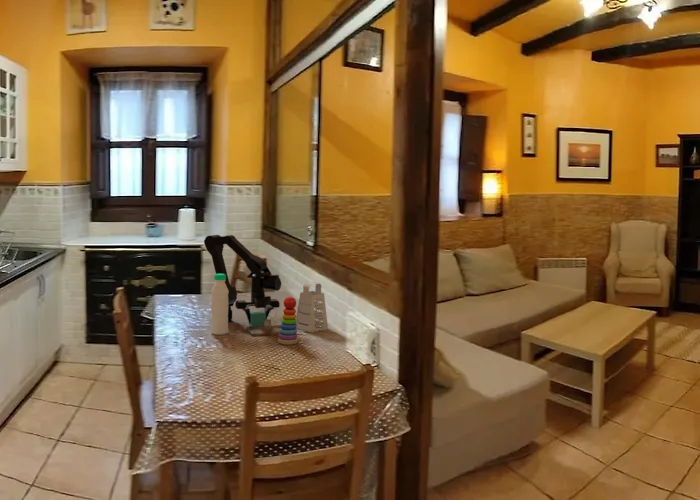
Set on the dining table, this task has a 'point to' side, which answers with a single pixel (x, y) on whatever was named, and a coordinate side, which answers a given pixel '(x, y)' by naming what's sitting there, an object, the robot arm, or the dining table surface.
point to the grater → (311, 309)
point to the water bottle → (219, 306)
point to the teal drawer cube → (257, 318)
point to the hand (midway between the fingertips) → (257, 323)
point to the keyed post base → (262, 332)
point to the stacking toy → (288, 323)
